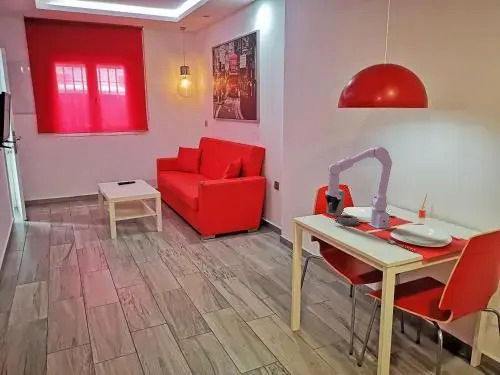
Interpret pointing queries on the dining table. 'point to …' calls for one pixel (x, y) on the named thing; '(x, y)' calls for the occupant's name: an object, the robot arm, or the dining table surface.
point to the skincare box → (340, 205)
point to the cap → (330, 208)
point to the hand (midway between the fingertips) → (332, 209)
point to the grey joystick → (347, 220)
